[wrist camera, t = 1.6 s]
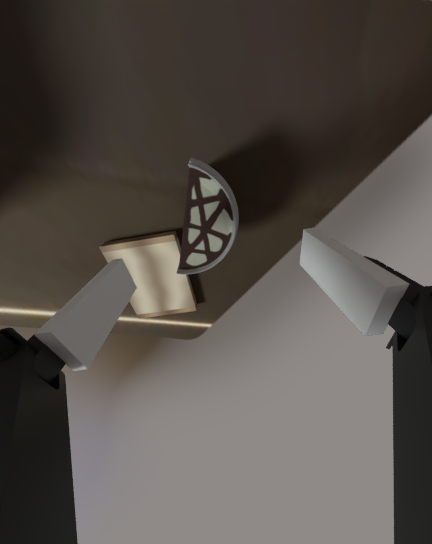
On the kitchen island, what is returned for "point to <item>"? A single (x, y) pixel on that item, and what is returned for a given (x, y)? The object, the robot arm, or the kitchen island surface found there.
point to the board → (154, 273)
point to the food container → (207, 220)
